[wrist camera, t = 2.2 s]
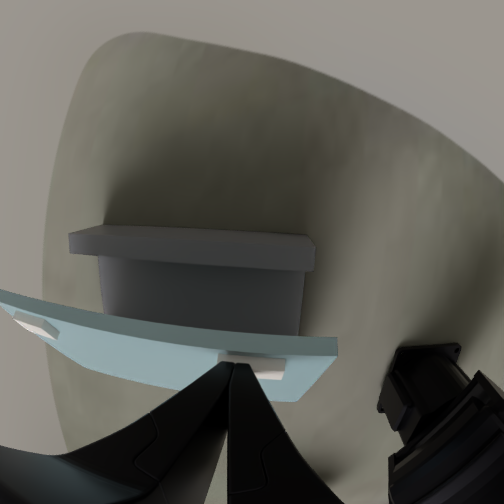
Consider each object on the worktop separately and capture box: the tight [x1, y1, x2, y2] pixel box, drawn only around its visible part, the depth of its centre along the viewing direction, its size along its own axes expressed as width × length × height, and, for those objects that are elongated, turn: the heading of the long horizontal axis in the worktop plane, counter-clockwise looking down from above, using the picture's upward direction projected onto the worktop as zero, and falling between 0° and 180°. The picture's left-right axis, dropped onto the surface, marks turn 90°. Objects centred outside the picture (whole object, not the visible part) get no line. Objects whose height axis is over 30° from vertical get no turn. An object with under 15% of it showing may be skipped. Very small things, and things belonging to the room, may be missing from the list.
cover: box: [0, 289, 338, 402], centre depth 12 cm, size 14×9×1 cm
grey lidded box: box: [69, 225, 316, 336], centre depth 17 cm, size 14×9×4 cm, turn 87°
